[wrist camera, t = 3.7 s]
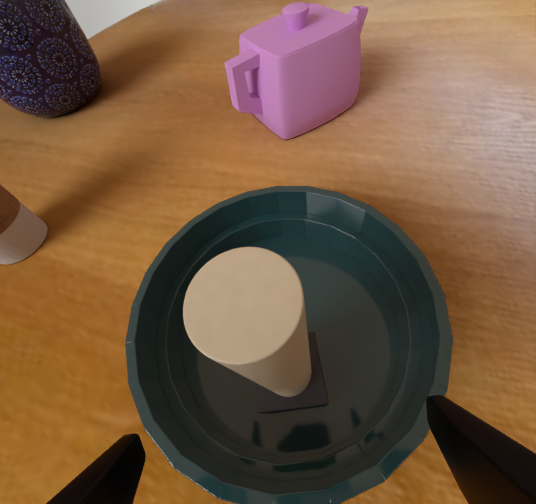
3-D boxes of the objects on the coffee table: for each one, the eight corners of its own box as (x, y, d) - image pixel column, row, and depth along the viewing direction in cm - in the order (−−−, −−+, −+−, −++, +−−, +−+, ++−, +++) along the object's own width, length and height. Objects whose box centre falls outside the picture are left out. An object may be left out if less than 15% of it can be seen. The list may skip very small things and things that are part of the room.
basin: (470, 463, 15) (541, 487, 10) (156, 498, 16) (91, 532, 11) (368, 212, 24) (381, 165, 20) (178, 247, 26) (148, 210, 21)
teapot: (332, 66, 39) (337, -35, 30) (386, 93, 33) (411, -19, 25) (225, 119, 36) (196, 25, 27) (265, 159, 30) (245, 57, 22)
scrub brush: (327, 405, 17) (355, 383, 5) (264, 413, 17) (144, 411, 5) (314, 340, 19) (312, 214, 7) (259, 348, 19) (165, 241, 7)
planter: (4, 137, 43) (-125, 22, 30) (44, 84, 52) (-43, -22, 39) (99, 118, 41) (4, -11, 29) (123, 67, 50) (59, -49, 37)
